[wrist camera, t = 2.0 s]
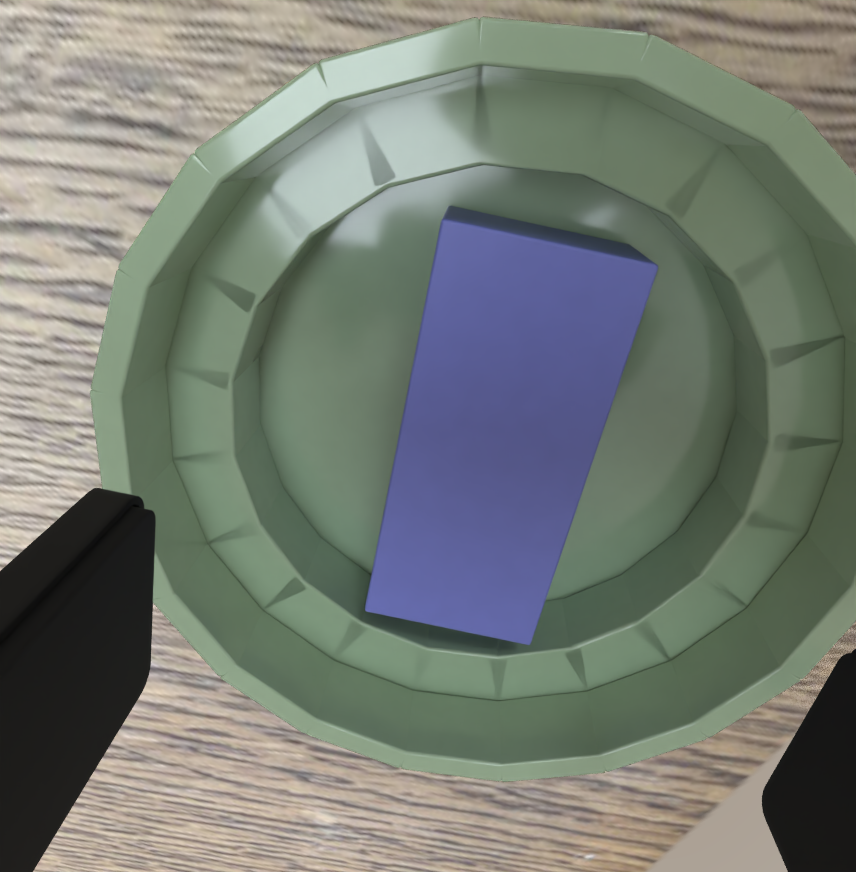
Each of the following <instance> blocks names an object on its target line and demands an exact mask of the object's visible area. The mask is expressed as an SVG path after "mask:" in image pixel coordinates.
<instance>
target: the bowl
mask: <svg viewBox="0 0 856 872" xmlns="http://www.w3.org/2000/svg"><path fill="white" fill-rule="evenodd" d="M448 206H454V207H459V208H464V209H468V210H473V211H478V212H482V213H487V214H491V215H496V216H501V217H505V218H510V219H514V220H519V221H524V222H528V223H533V224H538V225H542V226H547V227H551V228H556V229H561V230H565V231H570V232H575V233H579V234H584V235H588V236H593V237H598V238H602V239H607V240H612V241H616V242H621V243H625V244H630V245H631V246H632V247H634V248H635V249H636V250H638V251H639V252H640V253H642V254H643V255H644V256H646V257H647V258H649V259H650V260H651V261H653V262H654V263H655V264H657V265H658V271H657V274H656V277H655V280H654V282H653V285H652V288H651V291H650V294H649V297H648V300H647V303H646V306H645V309H644V312H643V315H642V318H641V321H640V324H639V327H638V330H637V333H636V335H635V338H634V341H633V344H632V347H631V350H630V353H629V356H628V359H627V362H626V365H625V368H624V371H623V374H622V377H621V380H620V383H619V386H618V388H617V391H616V394H615V397H614V400H613V403H612V406H611V409H610V412H609V415H608V418H607V421H606V424H605V427H604V430H603V433H602V436H601V439H600V442H599V444H598V447H597V450H596V453H595V456H594V459H593V462H592V465H591V468H590V471H589V474H588V477H587V480H586V483H585V486H584V489H583V492H582V495H581V497H580V500H579V503H578V506H577V509H576V512H575V515H574V518H573V521H572V524H571V527H570V530H569V533H568V536H567V539H566V542H565V545H564V548H563V550H562V553H561V556H560V559H559V562H558V565H557V568H556V571H555V574H554V577H553V580H552V583H551V586H550V589H549V592H548V595H547V598H546V601H545V603H544V606H543V609H542V612H541V615H540V618H539V621H538V624H537V627H536V630H535V633H534V636H533V639H532V642H531V644H530V645H526V644H521V643H516V642H511V641H506V640H502V639H497V638H492V637H487V636H482V635H477V634H473V633H468V632H463V631H458V630H453V629H448V628H444V627H439V626H434V625H429V624H424V623H420V622H415V621H410V620H405V619H400V618H395V617H391V616H386V615H381V614H376V613H371V612H367V611H365V604H366V599H367V594H368V589H369V583H370V578H371V573H372V568H373V563H374V558H375V553H376V548H377V543H378V538H379V533H380V528H381V523H382V518H383V513H384V507H385V502H386V497H387V492H388V487H389V482H390V477H391V472H392V467H393V462H394V457H395V452H396V447H397V442H398V437H399V431H400V426H401V421H402V416H403V411H404V406H405V401H406V396H407V391H408V386H409V381H410V376H411V371H412V366H413V361H414V355H415V350H416V345H417V340H418V335H419V330H420V325H421V320H422V315H423V310H424V305H425V300H426V295H427V290H428V285H429V279H430V274H431V269H432V264H433V259H434V254H435V249H436V244H437V239H438V234H439V229H440V224H441V220H442V218H443V216H444V214H445V212H446V210H447V208H448ZM118 268H119V269H118V270H117V271H116V275H115V280H114V284H113V289H112V294H111V298H110V303H109V307H108V312H107V316H106V321H105V325H104V330H103V334H102V339H101V343H100V348H99V352H98V357H97V362H96V366H95V371H94V375H93V380H92V384H91V389H92V390H91V391H90V397H91V405H92V413H93V420H94V428H95V436H96V444H97V451H98V459H99V467H100V475H101V483H102V489H106V490H111V491H116V492H121V493H126V494H131V495H135V496H139V497H141V498H142V500H143V503H144V509H148V510H152V511H153V512H154V513H155V517H156V528H155V556H154V583H153V603H154V604H155V605H156V607H157V608H158V609H159V610H160V611H161V612H162V613H163V614H164V616H165V617H166V618H167V619H168V620H169V621H170V622H171V623H172V625H173V626H174V627H175V628H176V629H177V630H178V631H179V632H180V633H181V635H182V636H183V637H184V638H185V639H186V640H187V641H188V642H189V644H190V645H191V646H192V647H193V648H194V649H195V650H196V651H197V653H198V654H199V655H200V656H201V657H202V658H203V659H204V660H205V662H206V663H207V664H208V665H209V666H210V667H211V668H212V669H213V670H214V672H215V673H216V674H217V675H218V676H221V679H222V680H224V681H225V682H227V683H228V684H230V685H231V686H233V687H234V688H236V689H237V690H239V691H240V692H242V693H243V694H245V695H246V696H248V697H249V698H251V699H252V700H254V701H255V702H257V703H258V704H260V705H261V706H263V707H264V708H266V709H267V710H269V711H270V712H272V713H273V714H275V715H276V716H278V717H279V718H281V719H282V720H284V721H285V722H287V723H288V724H290V725H291V726H293V727H294V728H296V729H297V730H299V731H300V732H302V733H306V734H307V735H309V736H312V737H315V738H317V739H320V740H323V741H325V742H328V743H331V744H334V745H336V746H339V747H342V748H345V749H347V750H350V751H353V752H355V753H358V754H361V755H364V756H366V757H369V758H372V759H375V760H377V761H380V762H383V763H386V764H388V765H391V766H394V767H396V768H400V767H401V768H402V769H405V770H413V771H421V772H428V773H436V774H444V775H452V776H460V777H467V778H475V779H483V780H491V781H498V782H499V781H501V780H502V781H503V782H511V781H522V780H533V779H544V778H554V777H565V776H576V775H587V774H598V773H605V771H607V772H609V771H612V770H615V769H618V768H621V767H624V766H627V765H630V764H633V763H636V762H639V761H642V760H645V759H648V758H651V757H654V756H658V755H661V754H664V753H667V752H670V751H673V750H676V749H679V748H682V747H685V746H688V745H691V744H694V743H697V742H700V741H703V740H705V739H706V737H708V738H710V737H712V736H713V735H715V734H716V733H718V732H720V731H721V730H723V729H724V728H726V727H728V726H729V725H731V724H732V723H734V722H736V721H737V720H739V719H740V718H742V717H743V716H745V715H747V714H748V713H750V712H751V711H753V710H755V709H756V708H758V707H759V706H761V705H763V704H764V703H766V702H767V701H769V700H771V699H772V698H774V697H775V696H777V695H778V694H780V693H782V692H783V691H785V690H786V689H788V688H790V687H791V686H793V685H794V684H796V683H798V682H799V681H800V679H803V678H804V677H805V676H806V675H807V674H808V673H809V672H810V671H811V670H812V668H813V667H814V666H815V665H816V664H817V663H818V662H819V661H820V660H821V659H822V657H823V656H824V655H825V654H826V653H827V652H828V651H829V650H830V649H831V648H832V647H833V645H834V644H835V643H836V642H837V641H838V640H839V639H840V638H841V637H842V636H843V634H844V633H845V632H846V631H847V630H848V629H849V628H850V627H851V626H852V625H853V624H854V622H855V621H856V174H855V173H854V172H853V171H852V170H851V169H850V167H849V166H848V165H847V164H846V163H845V162H844V160H843V159H842V158H841V157H840V156H839V155H838V154H837V152H836V151H835V150H834V149H833V148H832V147H831V145H830V144H829V143H828V142H827V141H826V140H825V138H824V137H823V136H822V135H821V134H820V133H819V131H818V130H817V129H816V128H815V127H814V126H813V124H812V123H811V122H810V121H809V120H808V119H807V117H806V116H805V115H804V114H803V113H802V112H801V110H799V109H795V107H794V106H793V105H792V104H790V103H788V102H786V101H784V100H782V99H780V98H778V97H776V96H774V95H772V94H770V93H768V92H766V91H764V90H762V89H760V88H758V87H756V86H754V85H752V84H750V83H748V82H746V81H745V80H743V79H741V78H739V77H737V76H735V75H733V74H731V73H729V72H727V71H725V70H723V69H721V68H719V67H717V66H715V65H713V64H711V63H709V62H707V61H705V60H703V59H701V58H699V57H697V56H695V55H693V54H691V53H689V52H687V51H685V50H683V49H681V48H679V47H677V46H675V45H673V44H671V43H670V42H668V41H666V40H664V39H662V38H660V37H658V36H656V35H649V36H648V33H646V32H641V31H630V30H620V29H609V28H599V27H588V26H578V25H567V24H556V23H546V22H535V21H525V20H514V19H503V18H493V17H481V18H480V19H478V18H476V17H474V18H470V19H466V20H463V21H459V22H456V23H452V24H448V25H445V26H441V27H437V28H434V29H430V30H427V31H423V32H419V33H416V34H412V35H408V36H405V37H401V38H397V39H394V40H390V41H387V42H383V43H379V44H376V45H372V46H368V47H365V48H361V49H358V50H354V51H350V52H347V53H343V54H339V55H336V56H332V57H328V58H325V59H321V60H320V61H319V63H314V64H312V65H311V66H310V67H308V68H307V69H306V70H304V71H303V72H301V73H300V74H299V75H297V76H296V77H295V78H293V79H292V80H290V81H289V82H288V83H286V84H285V85H284V86H282V87H281V88H279V89H278V90H277V91H275V92H274V93H273V94H271V95H270V96H268V97H267V98H266V99H264V100H263V101H262V102H260V103H259V104H257V105H256V106H255V107H253V108H252V109H251V110H249V111H248V112H246V113H245V114H244V115H242V116H241V117H240V118H238V119H237V120H235V121H234V122H233V123H231V124H230V125H229V126H227V127H226V128H224V129H223V130H222V131H220V132H219V133H218V134H216V135H215V136H214V137H212V138H211V139H209V140H208V141H207V142H205V143H204V144H203V145H201V146H200V147H198V148H197V149H196V151H195V153H193V154H191V155H190V157H189V158H188V160H187V161H186V163H185V164H184V166H183V167H182V169H181V170H180V172H179V173H178V175H177V177H176V178H175V180H174V181H173V183H172V184H171V186H170V187H169V189H168V190H167V192H166V193H165V195H164V196H163V198H162V200H161V201H160V203H159V204H158V206H157V207H156V209H155V210H154V212H153V213H152V215H151V216H150V218H149V219H148V221H147V223H146V224H145V226H144V227H143V229H142V230H141V232H140V233H139V235H138V236H137V238H136V239H135V241H134V242H133V244H132V246H131V247H130V249H129V250H128V252H127V253H126V255H125V256H124V258H123V259H122V261H121V262H120V264H119V267H118Z"/></svg>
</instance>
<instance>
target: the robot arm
mask: <svg viewBox="0 0 856 872" xmlns="http://www.w3.org/2000/svg"><path fill="white" fill-rule="evenodd" d="M155 528H156V517H155V513H154V512H153V511H152V510H148V509H144V503H143V500H142V498H141V497H139V496H135V495H131V494H126V493H121V492H116V491H111V490H106V489H101V488H94V489H92V490H91V491H89V492H88V493H87V494H86V495H85V496H84V497H82V498H81V499H80V500H79V501H78V502H77V503H76V504H75V505H74V506H72V507H71V508H70V509H69V510H68V511H67V512H66V513H65V514H63V515H62V516H61V517H60V518H59V519H58V520H57V521H56V522H55V523H53V524H52V525H51V526H50V527H49V528H48V529H47V530H46V531H45V532H43V533H42V534H41V535H40V536H39V537H38V538H37V539H36V540H34V541H33V542H32V543H31V544H30V545H29V546H28V547H27V548H26V549H24V550H23V551H22V552H21V553H20V554H19V555H18V556H17V557H16V558H14V559H13V560H12V561H11V562H10V563H9V564H8V565H7V566H5V567H4V568H3V569H2V570H1V571H0V872H33V870H34V869H35V867H36V866H37V864H38V862H39V861H40V859H41V857H42V856H43V854H44V852H45V851H46V849H47V847H48V846H49V844H50V843H51V841H52V839H53V838H54V836H55V834H56V833H57V831H58V829H59V828H60V826H61V824H62V823H63V821H64V820H65V818H66V816H67V815H68V813H69V811H70V810H71V808H72V806H73V805H74V803H75V801H76V800H77V798H78V797H79V795H80V793H81V792H82V790H83V788H84V787H85V785H86V783H87V782H88V780H89V779H90V777H91V775H92V774H93V772H94V770H95V769H96V767H97V765H98V764H99V762H100V760H101V759H102V757H103V756H104V754H105V752H106V751H107V749H108V747H109V746H110V744H111V742H112V741H113V739H114V737H115V736H116V734H117V733H118V731H119V729H120V728H121V726H122V724H123V723H124V721H125V719H126V718H127V716H128V714H129V713H130V711H131V710H132V708H133V706H134V705H135V703H136V701H137V700H138V698H139V696H140V695H141V693H142V691H143V689H144V687H145V684H146V682H147V678H148V675H149V671H150V664H151V639H152V611H153V583H154V556H155ZM762 807H763V813H764V816H765V819H766V822H767V824H768V826H769V829H770V831H771V833H772V836H773V838H774V840H775V843H776V845H777V847H778V849H779V852H780V854H781V856H782V859H783V861H784V863H785V866H786V868H787V870H788V872H856V649H854V650H853V652H852V653H848V654H845V655H843V656H842V657H841V658H840V659H839V661H838V662H837V664H836V666H835V667H834V669H833V671H832V672H831V674H830V676H829V678H828V679H827V681H826V683H825V684H824V686H823V688H822V690H821V691H820V693H819V695H818V696H817V698H816V700H815V702H814V703H813V705H812V707H811V708H810V710H809V712H808V714H807V715H806V717H805V719H804V720H803V722H802V724H801V726H800V727H799V729H798V731H797V732H796V734H795V736H794V738H793V739H792V741H791V743H790V744H789V746H788V748H787V750H786V751H785V753H784V755H783V756H782V758H781V760H780V762H779V764H778V765H777V767H776V769H775V770H774V772H773V774H772V775H771V777H770V779H769V781H768V782H767V784H766V786H765V788H764V790H763V795H762Z"/></svg>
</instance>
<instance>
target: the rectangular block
mask: <svg viewBox="0 0 856 872" xmlns="http://www.w3.org/2000/svg"><path fill="white" fill-rule="evenodd" d="M657 271H658V265H657V264H655V263H654V262H653V261H651V260H650V259H649V258H647V257H646V256H644V255H643V254H642V253H640V252H639V251H638V250H636V249H635V248H634V247H632V246H631V245H630V244H625V243H621V242H616V241H612V240H607V239H602V238H598V237H593V236H588V235H584V234H579V233H575V232H570V231H565V230H561V229H556V228H551V227H547V226H542V225H538V224H533V223H528V222H524V221H519V220H514V219H510V218H505V217H501V216H496V215H491V214H487V213H482V212H478V211H473V210H468V209H464V208H459V207H454V206H448V208H447V210H446V212H445V214H444V216H443V218H442V220H441V224H440V229H439V234H438V239H437V244H436V249H435V254H434V259H433V264H432V269H431V274H430V279H429V285H428V290H427V295H426V300H425V305H424V310H423V315H422V320H421V325H420V330H419V335H418V340H417V345H416V350H415V355H414V361H413V366H412V371H411V376H410V381H409V386H408V391H407V396H406V401H405V406H404V411H403V416H402V421H401V426H400V431H399V437H398V442H397V447H396V452H395V457H394V462H393V467H392V472H391V477H390V482H389V487H388V492H387V497H386V502H385V507H384V513H383V518H382V523H381V528H380V533H379V538H378V543H377V548H376V553H375V558H374V563H373V568H372V573H371V578H370V583H369V589H368V594H367V599H366V604H365V611H367V612H371V613H376V614H381V615H386V616H391V617H395V618H400V619H405V620H410V621H415V622H420V623H424V624H429V625H434V626H439V627H444V628H448V629H453V630H458V631H463V632H468V633H473V634H477V635H482V636H487V637H492V638H497V639H502V640H506V641H511V642H516V643H521V644H526V645H530V644H531V642H532V639H533V636H534V633H535V630H536V627H537V624H538V621H539V618H540V615H541V612H542V609H543V606H544V603H545V601H546V598H547V595H548V592H549V589H550V586H551V583H552V580H553V577H554V574H555V571H556V568H557V565H558V562H559V559H560V556H561V553H562V550H563V548H564V545H565V542H566V539H567V536H568V533H569V530H570V527H571V524H572V521H573V518H574V515H575V512H576V509H577V506H578V503H579V500H580V497H581V495H582V492H583V489H584V486H585V483H586V480H587V477H588V474H589V471H590V468H591V465H592V462H593V459H594V456H595V453H596V450H597V447H598V444H599V442H600V439H601V436H602V433H603V430H604V427H605V424H606V421H607V418H608V415H609V412H610V409H611V406H612V403H613V400H614V397H615V394H616V391H617V388H618V386H619V383H620V380H621V377H622V374H623V371H624V368H625V365H626V362H627V359H628V356H629V353H630V350H631V347H632V344H633V341H634V338H635V335H636V333H637V330H638V327H639V324H640V321H641V318H642V315H643V312H644V309H645V306H646V303H647V300H648V297H649V294H650V291H651V288H652V285H653V282H654V280H655V277H656V274H657Z"/></svg>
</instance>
